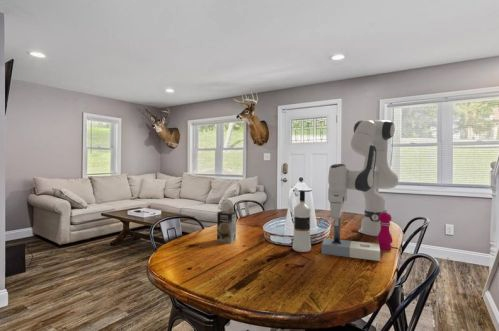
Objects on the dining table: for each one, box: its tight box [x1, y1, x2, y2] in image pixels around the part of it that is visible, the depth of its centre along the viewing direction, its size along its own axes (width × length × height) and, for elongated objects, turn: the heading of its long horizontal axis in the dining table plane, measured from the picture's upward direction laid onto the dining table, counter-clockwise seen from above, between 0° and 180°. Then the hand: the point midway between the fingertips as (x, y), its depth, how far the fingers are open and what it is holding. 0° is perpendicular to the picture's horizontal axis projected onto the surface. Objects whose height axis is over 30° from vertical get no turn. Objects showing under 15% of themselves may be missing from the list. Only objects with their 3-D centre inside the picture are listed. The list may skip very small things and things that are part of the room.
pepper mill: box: [376, 209, 393, 251], centre depth 148 cm, size 7×7×20 cm
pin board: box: [321, 237, 381, 262], centre depth 139 cm, size 12×26×4 cm, turn 68°
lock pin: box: [333, 216, 342, 243], centre depth 141 cm, size 3×3×14 cm
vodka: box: [292, 190, 312, 253], centre depth 144 cm, size 9×9×30 cm
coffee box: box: [216, 210, 237, 244], centre depth 159 cm, size 9×6×16 cm
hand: (337, 224), depth 141 cm, fingers closed on lock pin, 3 cm apart
